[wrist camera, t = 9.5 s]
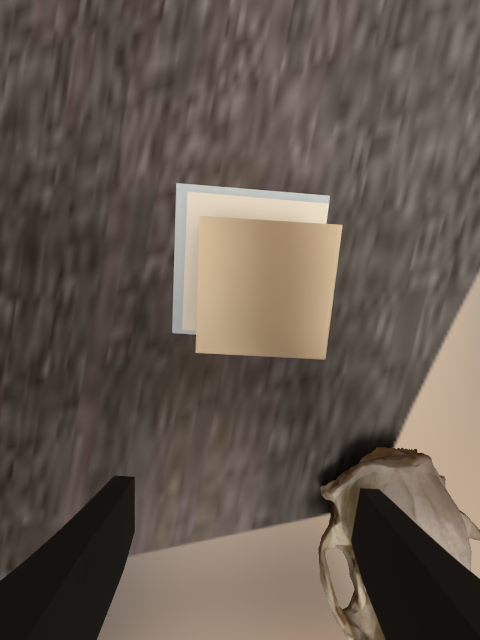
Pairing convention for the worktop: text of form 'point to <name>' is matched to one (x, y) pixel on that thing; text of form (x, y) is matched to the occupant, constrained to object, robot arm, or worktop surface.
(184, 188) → the tower base
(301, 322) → the maple block
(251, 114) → the worktop surface
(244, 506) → the worktop surface
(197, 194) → the tower top
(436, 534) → the skull
